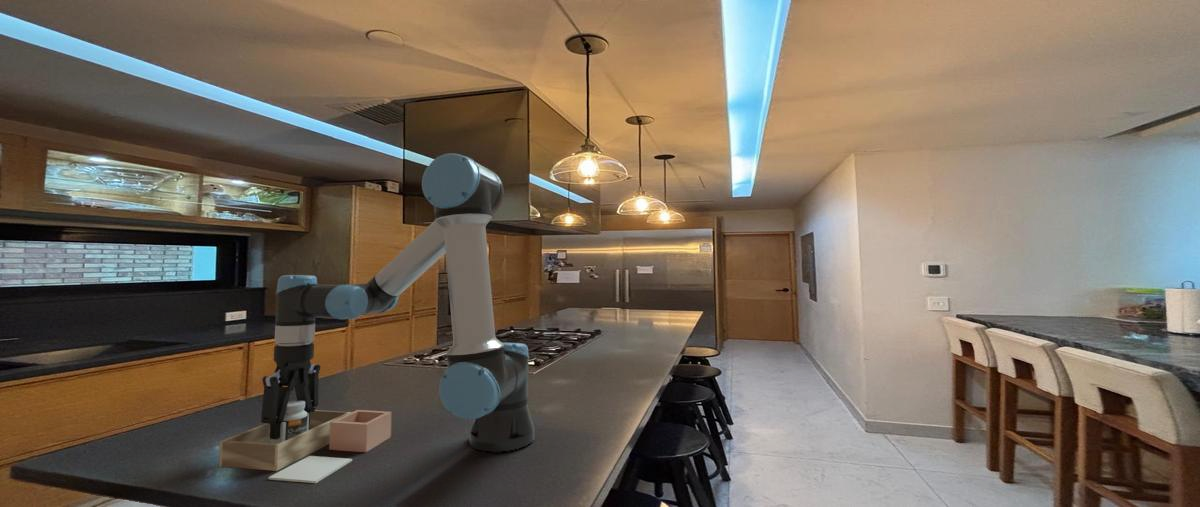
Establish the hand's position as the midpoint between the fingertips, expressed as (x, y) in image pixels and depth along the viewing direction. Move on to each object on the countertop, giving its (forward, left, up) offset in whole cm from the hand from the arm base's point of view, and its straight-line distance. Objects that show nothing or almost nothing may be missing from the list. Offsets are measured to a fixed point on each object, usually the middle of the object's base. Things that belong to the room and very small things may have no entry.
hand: (289, 446), depth 100 cm
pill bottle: (0, 0, 0) cm, 1 cm away
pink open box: (-14, -5, 0) cm, 15 cm away
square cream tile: (-13, +9, 0) cm, 16 cm away
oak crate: (0, 0, 0) cm, 0 cm away
